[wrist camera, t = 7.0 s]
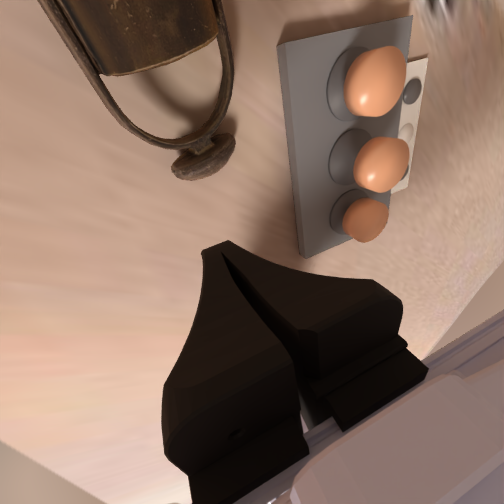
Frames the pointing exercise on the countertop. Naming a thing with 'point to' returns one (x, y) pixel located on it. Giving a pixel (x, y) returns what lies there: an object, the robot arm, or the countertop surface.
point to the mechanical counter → (151, 60)
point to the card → (411, 111)
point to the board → (331, 126)
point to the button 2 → (375, 81)
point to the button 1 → (365, 219)
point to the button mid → (381, 163)
